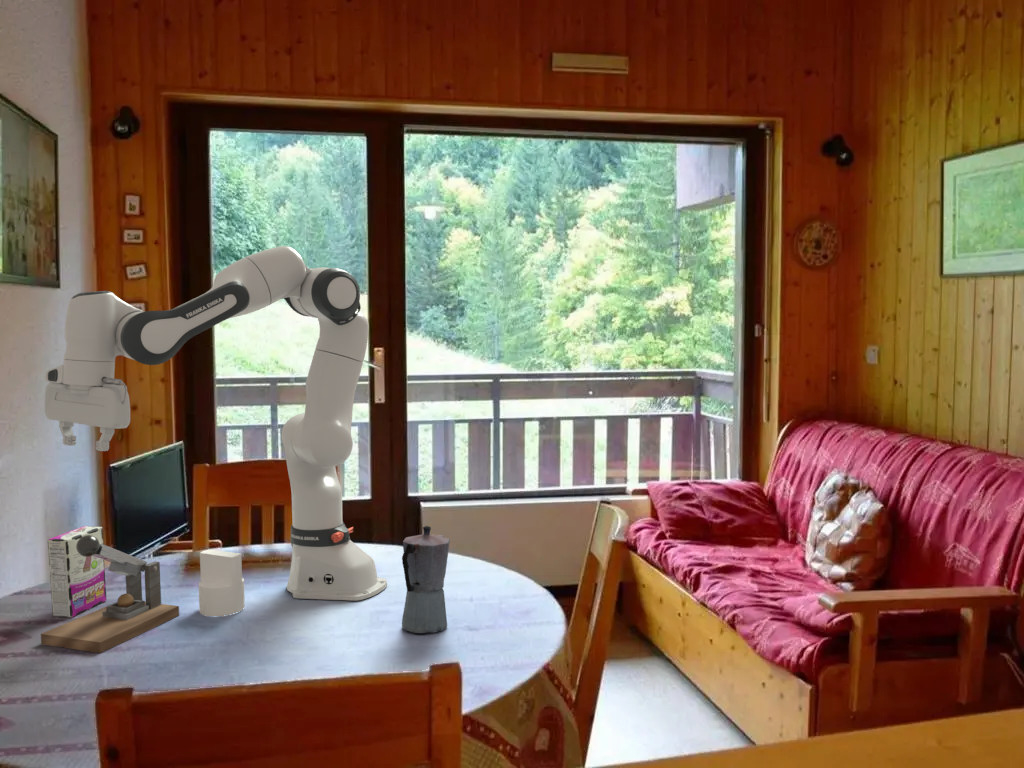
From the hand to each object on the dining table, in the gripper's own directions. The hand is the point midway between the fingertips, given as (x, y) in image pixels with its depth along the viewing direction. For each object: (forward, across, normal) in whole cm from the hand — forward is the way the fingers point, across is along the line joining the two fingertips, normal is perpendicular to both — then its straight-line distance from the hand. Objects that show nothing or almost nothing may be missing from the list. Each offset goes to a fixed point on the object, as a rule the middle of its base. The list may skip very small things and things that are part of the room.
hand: (85, 447), depth 167 cm
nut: (+33, -3, -9) cm, 34 cm away
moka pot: (+32, -58, -33) cm, 74 cm away
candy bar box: (+36, +14, -10) cm, 40 cm away
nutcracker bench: (+36, -3, -5) cm, 36 cm away
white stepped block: (+34, -14, -24) cm, 44 cm away
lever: (+23, -3, -4) cm, 24 cm away
